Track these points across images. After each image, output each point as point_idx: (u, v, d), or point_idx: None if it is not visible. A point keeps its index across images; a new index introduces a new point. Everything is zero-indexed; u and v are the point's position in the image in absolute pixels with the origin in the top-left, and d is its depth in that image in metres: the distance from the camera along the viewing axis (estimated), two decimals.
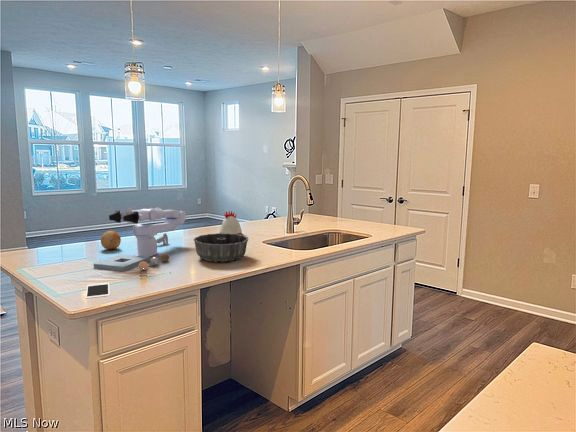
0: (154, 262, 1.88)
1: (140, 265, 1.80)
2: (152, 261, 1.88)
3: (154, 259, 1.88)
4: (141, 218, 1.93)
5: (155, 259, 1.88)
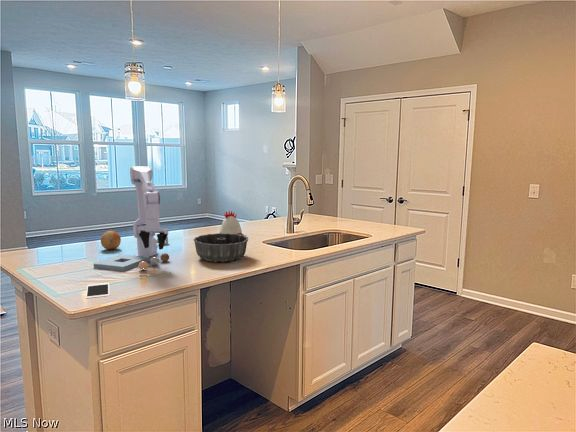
0: (154, 262, 1.88)
1: (140, 265, 1.80)
2: (152, 261, 1.88)
3: (154, 259, 1.88)
4: (167, 232, 1.86)
5: (155, 259, 1.88)
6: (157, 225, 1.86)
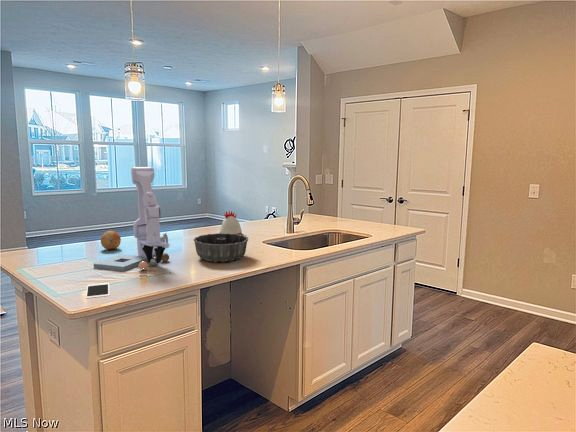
0: (154, 262, 1.88)
1: (140, 265, 1.80)
2: (152, 261, 1.88)
3: (154, 259, 1.88)
4: (168, 246, 1.87)
5: (155, 259, 1.88)
6: (158, 239, 1.87)
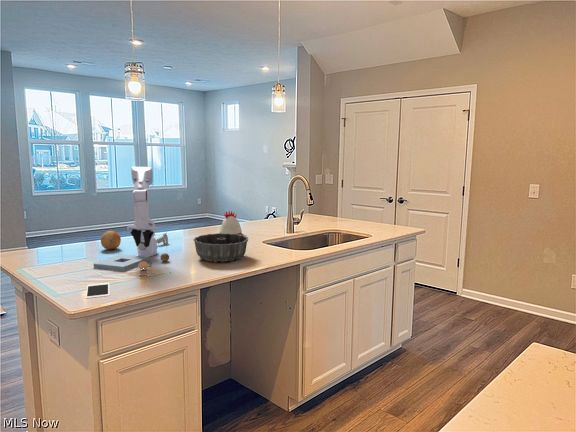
0: (142, 246, 1.87)
1: (140, 265, 1.80)
2: (140, 245, 1.87)
3: (142, 243, 1.88)
4: (156, 230, 1.86)
5: (143, 243, 1.88)
6: (146, 223, 1.86)
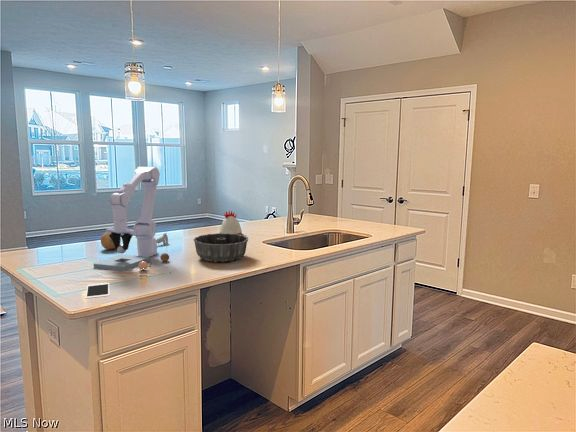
0: (121, 249, 1.89)
1: (140, 265, 1.80)
2: (119, 248, 1.89)
3: (121, 246, 1.89)
4: (135, 233, 1.88)
5: (122, 246, 1.89)
6: (124, 226, 1.88)
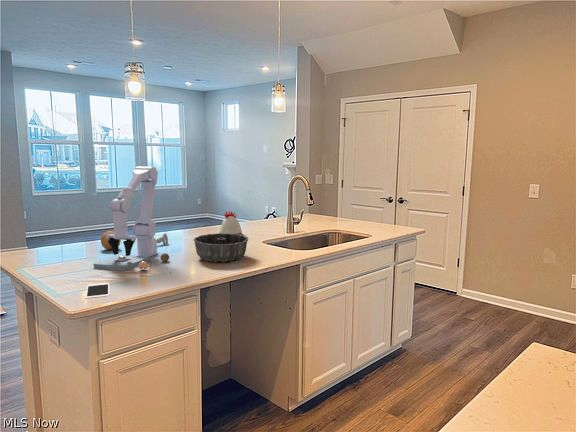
0: (121, 260, 1.89)
1: (140, 265, 1.80)
2: (119, 260, 1.89)
3: (121, 257, 1.90)
4: (135, 239, 1.88)
5: (122, 257, 1.90)
6: (125, 232, 1.88)
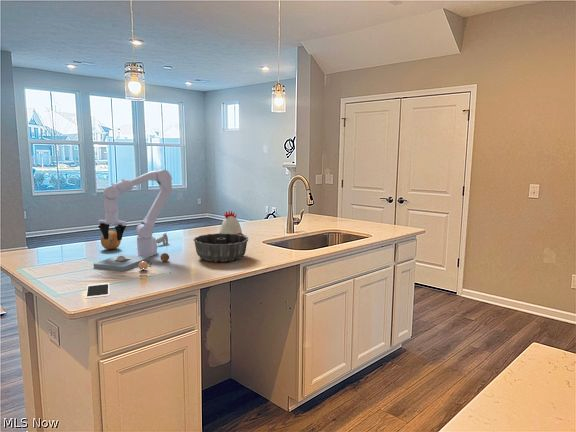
0: (120, 260, 1.90)
1: (140, 265, 1.80)
2: (118, 260, 1.90)
3: (119, 257, 1.90)
4: (125, 224, 1.97)
5: (120, 257, 1.90)
6: (115, 217, 1.97)
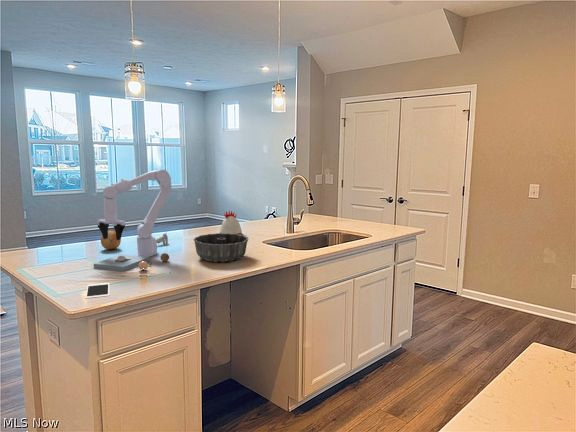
0: (120, 260, 1.89)
1: (140, 265, 1.80)
2: (118, 260, 1.90)
3: (119, 257, 1.90)
4: (124, 224, 1.98)
5: (120, 257, 1.90)
6: (114, 217, 1.98)
